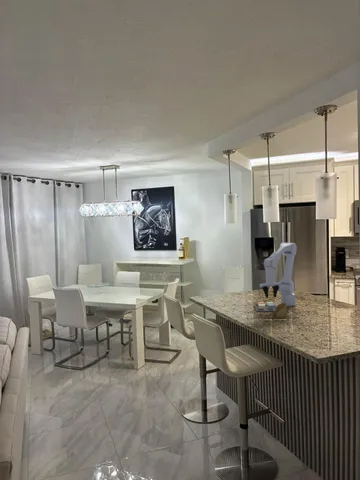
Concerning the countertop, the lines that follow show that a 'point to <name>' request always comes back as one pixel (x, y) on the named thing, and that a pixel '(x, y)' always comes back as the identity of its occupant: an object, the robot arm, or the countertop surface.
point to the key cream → (261, 306)
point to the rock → (280, 312)
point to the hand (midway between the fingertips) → (270, 297)
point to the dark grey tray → (265, 309)
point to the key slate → (271, 306)
